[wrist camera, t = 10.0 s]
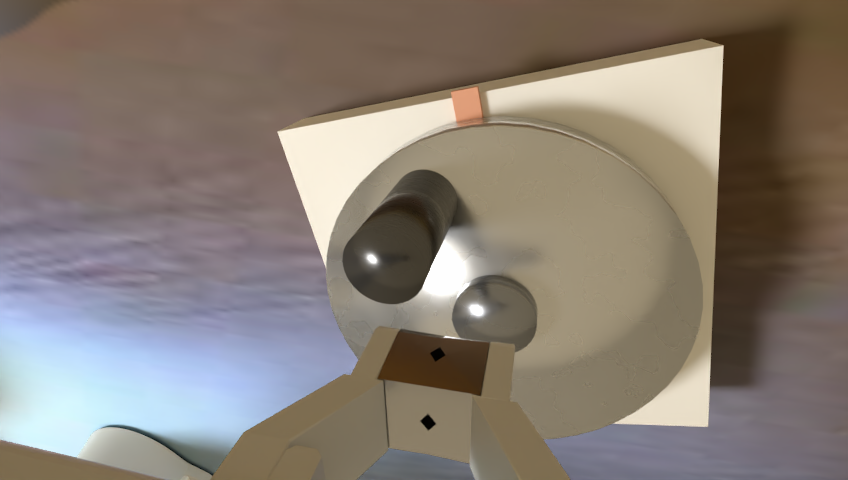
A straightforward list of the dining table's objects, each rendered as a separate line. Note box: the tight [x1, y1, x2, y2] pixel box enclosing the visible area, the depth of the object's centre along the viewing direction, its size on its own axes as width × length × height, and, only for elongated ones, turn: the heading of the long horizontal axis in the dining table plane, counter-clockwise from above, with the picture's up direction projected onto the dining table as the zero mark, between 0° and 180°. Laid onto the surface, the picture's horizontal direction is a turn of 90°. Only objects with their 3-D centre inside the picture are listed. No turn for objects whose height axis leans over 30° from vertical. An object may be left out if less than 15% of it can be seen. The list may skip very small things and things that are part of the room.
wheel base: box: [278, 39, 724, 427], centre depth 26 cm, size 20×20×3 cm
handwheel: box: [326, 116, 703, 439], centre depth 21 cm, size 18×18×8 cm
